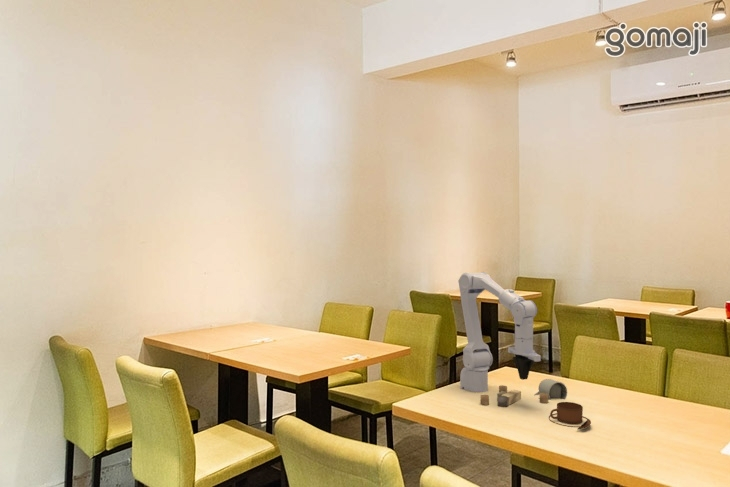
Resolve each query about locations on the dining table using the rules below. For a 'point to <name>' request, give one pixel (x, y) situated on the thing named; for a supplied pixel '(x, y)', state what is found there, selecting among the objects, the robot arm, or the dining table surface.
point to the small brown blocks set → (503, 389)
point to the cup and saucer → (570, 414)
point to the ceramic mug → (552, 389)
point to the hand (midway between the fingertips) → (523, 378)
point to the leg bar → (509, 398)
